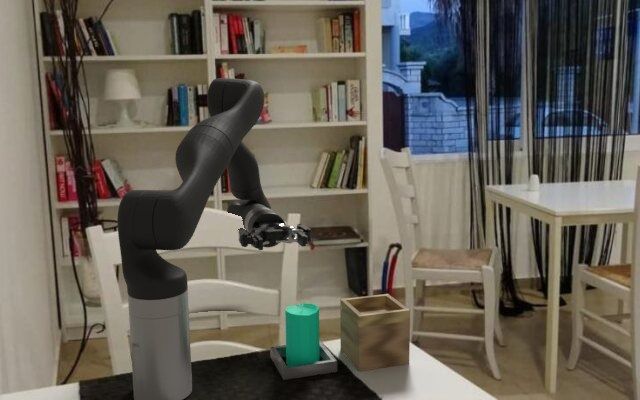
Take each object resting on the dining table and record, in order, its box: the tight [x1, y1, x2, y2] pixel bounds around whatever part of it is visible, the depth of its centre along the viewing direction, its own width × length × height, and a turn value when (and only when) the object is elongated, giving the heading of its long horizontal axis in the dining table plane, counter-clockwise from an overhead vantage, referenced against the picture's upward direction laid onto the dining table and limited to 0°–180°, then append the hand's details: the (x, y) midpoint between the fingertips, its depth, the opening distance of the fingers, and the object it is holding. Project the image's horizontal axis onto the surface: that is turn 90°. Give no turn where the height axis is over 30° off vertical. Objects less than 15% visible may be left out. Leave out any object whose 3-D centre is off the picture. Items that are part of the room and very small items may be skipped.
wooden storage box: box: [339, 293, 411, 372], centre depth 115 cm, size 10×10×10 cm
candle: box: [284, 302, 321, 366], centre depth 111 cm, size 6×6×12 cm
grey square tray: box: [269, 340, 338, 381], centre depth 112 cm, size 10×10×2 cm
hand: (283, 243), depth 121 cm, fingers open, 8 cm apart
